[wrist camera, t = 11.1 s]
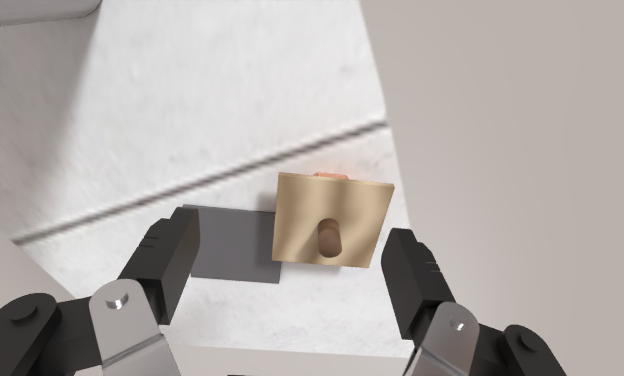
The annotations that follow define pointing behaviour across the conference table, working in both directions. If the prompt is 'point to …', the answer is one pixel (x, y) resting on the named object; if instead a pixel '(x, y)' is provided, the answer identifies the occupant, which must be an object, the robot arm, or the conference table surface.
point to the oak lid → (328, 219)
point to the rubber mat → (236, 245)
